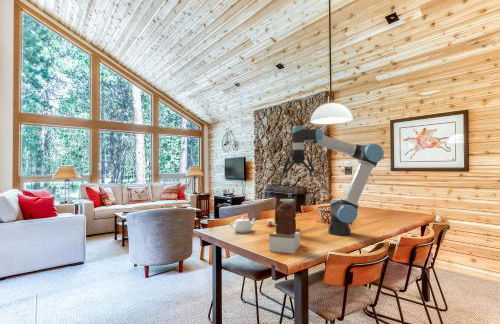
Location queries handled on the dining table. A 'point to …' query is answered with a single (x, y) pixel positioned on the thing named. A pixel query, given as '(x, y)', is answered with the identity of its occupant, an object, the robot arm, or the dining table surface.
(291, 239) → the display plinth
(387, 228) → the dining table surface
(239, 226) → the teapot
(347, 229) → the robot arm
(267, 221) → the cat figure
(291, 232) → the wooden figurine
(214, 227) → the dining table surface
